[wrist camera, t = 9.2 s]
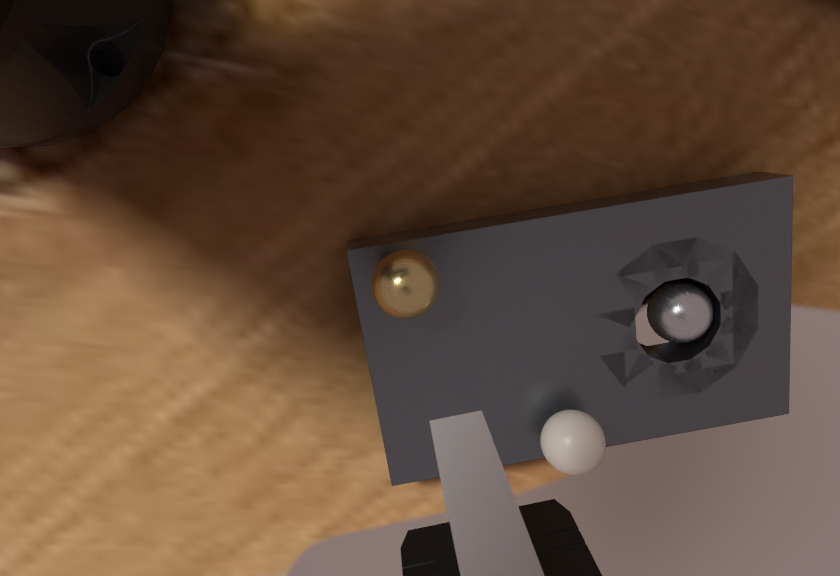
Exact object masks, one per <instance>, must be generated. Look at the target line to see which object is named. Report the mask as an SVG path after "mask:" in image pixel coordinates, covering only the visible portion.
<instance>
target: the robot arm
mask: <svg viewBox="0 0 840 576" xmlns="http://www.w3.org/2000/svg"><path fill="white" fill-rule="evenodd" d="M170 11H171V0H0V148H13V147H30V146H42V145H50V144H55V143H60V142H64V141H67V140H71V139H74V138H76V137H79V136H82V135H84V134H86V133H88V132H91V131H93V130H95V129H96V128H98V127H100V126H102V125H103V124H105V123H106V122H108V121H109V120H111V119H112V118H114V117H115V116H116V115H117V114H118V113H120V112H121V111H122V110H123V109H124V108H125V107H126V106H127V105H128V104H129V103H130V102H131V101H132V100H133V99H134V98H135V97H136V95H137V94H138V93H139V92H140V90H141V89H142V88H143V86H144V85H145V83H146V82H147V80H148V79H149V77H150V75H151V74H152V72H153V70H154V68H155V66H156V64H157V62H158V59H159V57H160V54H161V51H162V49H163V45H164V42H165V39H166V35H167V30H168V26H169V19H170ZM429 422H430V427H431V432H432V438H433V443H434V448H435V453H436V459H437V464H438V469H439V475H440V480H441V485H442V490H443V496H444V501H445V506H446V511H447V516H448V521H449V522H447V523H443V524H438V525H433V526H428V527H423V528H418V529H413V530H409V531H408V532H407V535H406V537H405V539H404V541H403V544H402V546H401V558H402V568H403V576H602V575H601V573H600V571H599V569H598V567H597V565H596V563H595V561H594V559H593V557H592V555H591V553H590V551H589V549H588V547H587V545H586V544H585V541H584V539H583V537H582V535H581V533H580V531H579V530H578V527H577V525H576V523H575V521H574V519H573V517H572V515H571V513H570V511H568V510H567V509H566V508H565V507H563V506H562V505H561V504H560V503H558V502H557V501H556V500H555V499H552V500H548V501H543V502H538V503H533V504H528V505H524V506H518V505H517V502H516V499H515V497H514V494H513V492H512V489H511V486H510V484H509V481H508V478H507V476H506V473H505V471H504V468H503V465H502V463H501V460H500V457H499V455H498V452H497V449H496V447H495V444H494V442H493V439H492V436H491V434H490V431H489V428H488V426H487V423H486V420H485V418H484V415H483V413H482V410H481V411H476V412H471V413H466V414H461V415H456V416H451V417H446V418H441V419H436V420H431V421H429Z"/></svg>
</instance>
